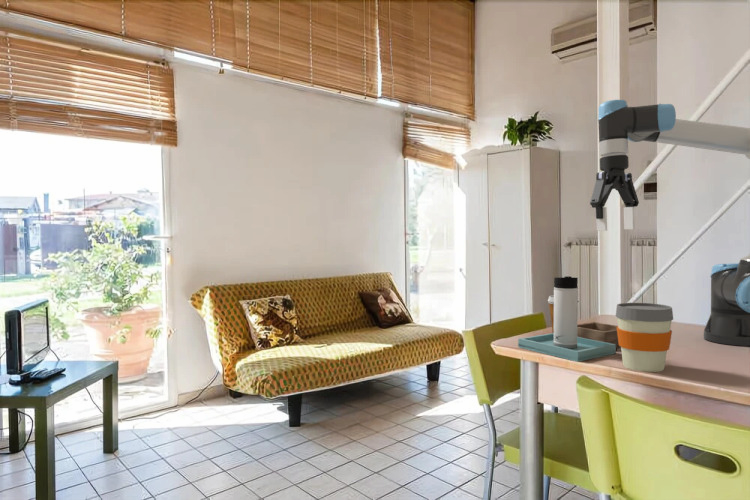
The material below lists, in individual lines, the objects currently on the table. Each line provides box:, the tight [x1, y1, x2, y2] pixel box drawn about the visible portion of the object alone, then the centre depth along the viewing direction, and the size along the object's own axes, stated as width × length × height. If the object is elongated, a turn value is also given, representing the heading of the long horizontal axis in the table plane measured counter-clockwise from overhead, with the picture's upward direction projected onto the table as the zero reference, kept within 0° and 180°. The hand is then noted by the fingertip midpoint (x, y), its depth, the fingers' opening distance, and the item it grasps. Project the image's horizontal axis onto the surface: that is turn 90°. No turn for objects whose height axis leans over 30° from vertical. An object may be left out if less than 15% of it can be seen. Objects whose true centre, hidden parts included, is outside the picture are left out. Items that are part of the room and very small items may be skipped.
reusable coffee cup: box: [615, 302, 674, 373], centre depth 127 cm, size 13×13×15 cm
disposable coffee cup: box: [547, 294, 579, 333], centre depth 169 cm, size 10×10×12 cm
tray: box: [517, 332, 617, 362], centre depth 146 cm, size 20×16×2 cm
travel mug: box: [553, 275, 579, 349], centre depth 145 cm, size 6×7×20 cm
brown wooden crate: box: [577, 321, 621, 349], centre depth 153 cm, size 12×12×5 cm
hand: (616, 230), depth 150 cm, fingers open, 13 cm apart
